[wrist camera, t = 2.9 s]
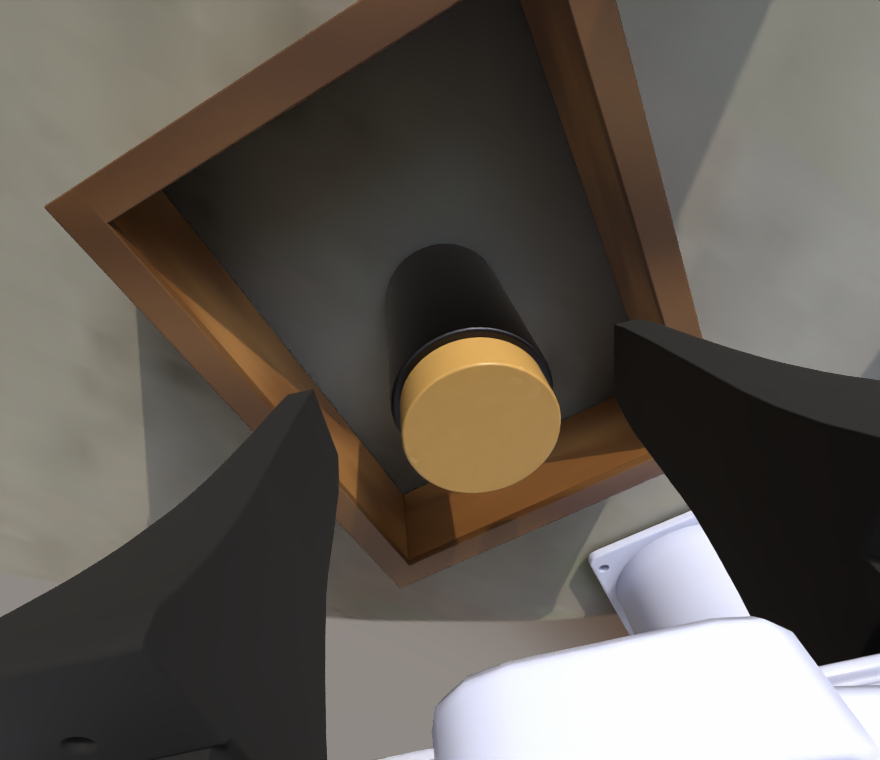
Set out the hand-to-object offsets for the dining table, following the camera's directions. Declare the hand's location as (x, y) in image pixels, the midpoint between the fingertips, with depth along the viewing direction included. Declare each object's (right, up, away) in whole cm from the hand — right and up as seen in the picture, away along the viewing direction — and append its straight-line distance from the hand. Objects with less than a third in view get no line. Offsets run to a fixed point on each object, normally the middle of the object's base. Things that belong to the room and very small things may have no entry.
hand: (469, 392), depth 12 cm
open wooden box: (-1, +3, +5) cm, 6 cm away
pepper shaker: (-1, +3, +5) cm, 6 cm away
